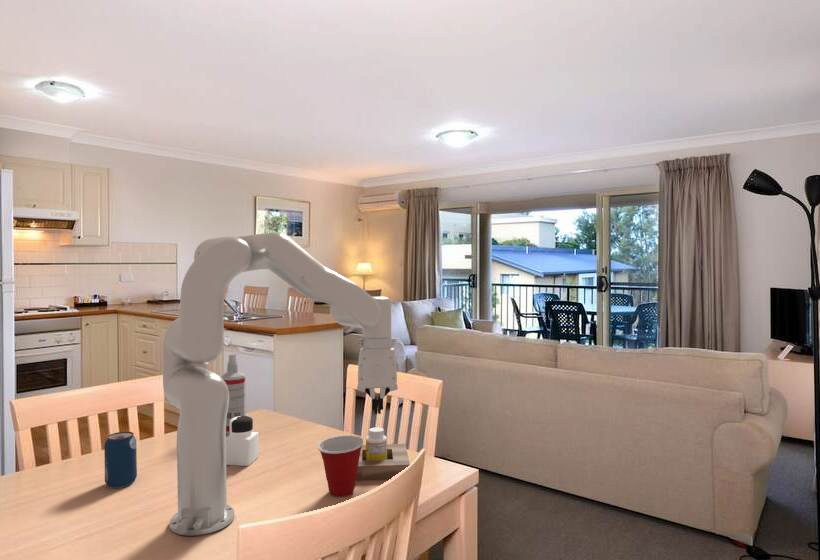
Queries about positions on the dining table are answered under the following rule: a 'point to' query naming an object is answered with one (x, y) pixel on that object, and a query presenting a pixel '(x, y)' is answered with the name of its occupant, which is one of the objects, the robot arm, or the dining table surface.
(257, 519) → the dining table surface
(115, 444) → the soda can
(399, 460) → the square bottle holder
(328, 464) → the plastic cup
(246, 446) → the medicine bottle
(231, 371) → the spray bottle
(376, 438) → the supplement bottle
